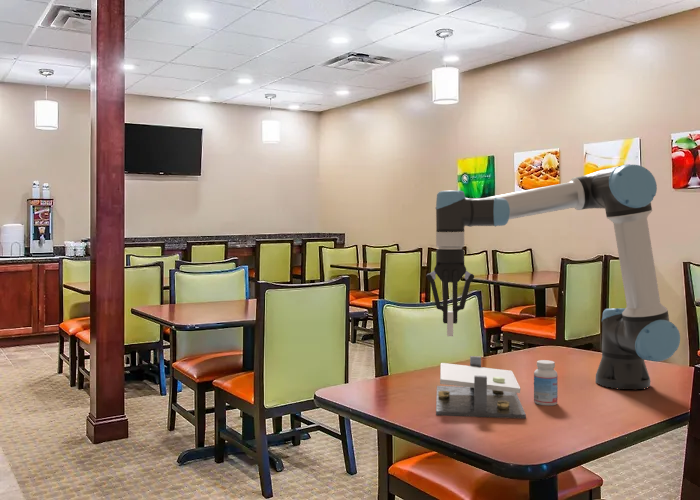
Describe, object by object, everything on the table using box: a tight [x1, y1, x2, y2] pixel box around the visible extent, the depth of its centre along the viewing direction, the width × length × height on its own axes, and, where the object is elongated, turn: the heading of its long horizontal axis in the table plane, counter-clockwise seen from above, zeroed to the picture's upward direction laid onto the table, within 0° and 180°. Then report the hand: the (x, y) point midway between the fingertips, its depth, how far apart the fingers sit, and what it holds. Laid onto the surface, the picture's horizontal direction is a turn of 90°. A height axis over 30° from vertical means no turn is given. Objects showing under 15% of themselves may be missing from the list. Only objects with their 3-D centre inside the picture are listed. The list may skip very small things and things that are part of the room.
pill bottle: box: [533, 359, 559, 407], centre depth 172 cm, size 6×6×11 cm
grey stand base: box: [435, 355, 527, 419], centre depth 173 cm, size 22×26×10 cm
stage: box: [439, 362, 521, 394], centre depth 173 cm, size 20×22×2 cm
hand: (450, 335), depth 173 cm, fingers closed
